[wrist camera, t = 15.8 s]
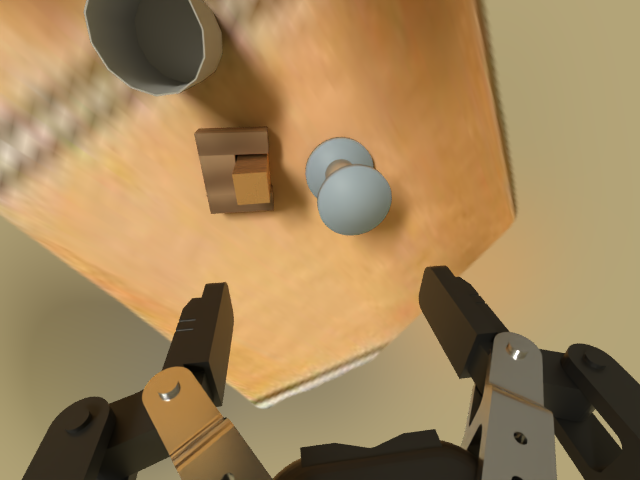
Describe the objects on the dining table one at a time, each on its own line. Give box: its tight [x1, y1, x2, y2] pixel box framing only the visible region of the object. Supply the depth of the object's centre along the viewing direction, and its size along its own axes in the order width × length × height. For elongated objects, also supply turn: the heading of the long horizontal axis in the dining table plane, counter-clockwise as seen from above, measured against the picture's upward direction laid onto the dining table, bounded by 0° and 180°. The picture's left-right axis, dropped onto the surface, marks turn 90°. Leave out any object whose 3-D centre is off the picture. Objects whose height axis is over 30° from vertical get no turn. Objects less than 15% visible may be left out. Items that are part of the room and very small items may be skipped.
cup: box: [84, 0, 223, 96], centre depth 28 cm, size 8×8×10 cm
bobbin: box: [306, 137, 392, 235], centre depth 38 cm, size 9×9×10 cm
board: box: [194, 127, 274, 214], centre depth 39 cm, size 10×8×2 cm
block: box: [232, 154, 271, 205], centre depth 37 cm, size 4×4×8 cm
